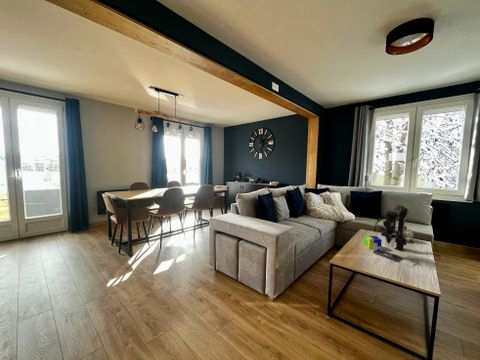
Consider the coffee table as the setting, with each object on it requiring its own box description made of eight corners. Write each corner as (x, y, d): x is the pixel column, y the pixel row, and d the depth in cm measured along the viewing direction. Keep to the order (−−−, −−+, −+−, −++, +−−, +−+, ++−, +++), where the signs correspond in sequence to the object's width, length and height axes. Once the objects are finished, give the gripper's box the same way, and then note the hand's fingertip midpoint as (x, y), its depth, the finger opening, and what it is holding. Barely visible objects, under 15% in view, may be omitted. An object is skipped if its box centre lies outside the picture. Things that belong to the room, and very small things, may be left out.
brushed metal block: (388, 244, 175) (388, 236, 174) (394, 246, 170) (395, 237, 170) (384, 245, 173) (385, 236, 172) (391, 247, 168) (392, 238, 167)
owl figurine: (391, 239, 212) (392, 223, 211) (393, 236, 220) (394, 221, 218) (413, 244, 199) (414, 228, 197) (414, 241, 206) (416, 225, 205)
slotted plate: (379, 250, 183) (379, 248, 183) (402, 259, 167) (402, 257, 167) (373, 252, 179) (373, 250, 178) (396, 261, 163) (396, 259, 162)
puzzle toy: (380, 250, 184) (381, 240, 183) (369, 249, 186) (369, 239, 185) (375, 245, 194) (376, 236, 193) (364, 244, 196) (365, 235, 195)
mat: (404, 259, 167) (404, 258, 167) (416, 263, 160) (416, 263, 160) (399, 261, 164) (399, 260, 164) (411, 265, 157) (411, 265, 156)
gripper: (387, 221, 181) (385, 237, 182) (375, 224, 173) (373, 241, 174) (401, 225, 171) (399, 242, 173) (389, 228, 163) (387, 246, 164)
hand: (390, 242), depth 171 cm, fingers closed on brushed metal block, 5 cm apart
